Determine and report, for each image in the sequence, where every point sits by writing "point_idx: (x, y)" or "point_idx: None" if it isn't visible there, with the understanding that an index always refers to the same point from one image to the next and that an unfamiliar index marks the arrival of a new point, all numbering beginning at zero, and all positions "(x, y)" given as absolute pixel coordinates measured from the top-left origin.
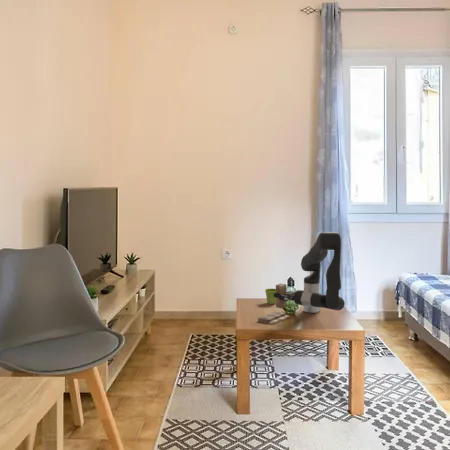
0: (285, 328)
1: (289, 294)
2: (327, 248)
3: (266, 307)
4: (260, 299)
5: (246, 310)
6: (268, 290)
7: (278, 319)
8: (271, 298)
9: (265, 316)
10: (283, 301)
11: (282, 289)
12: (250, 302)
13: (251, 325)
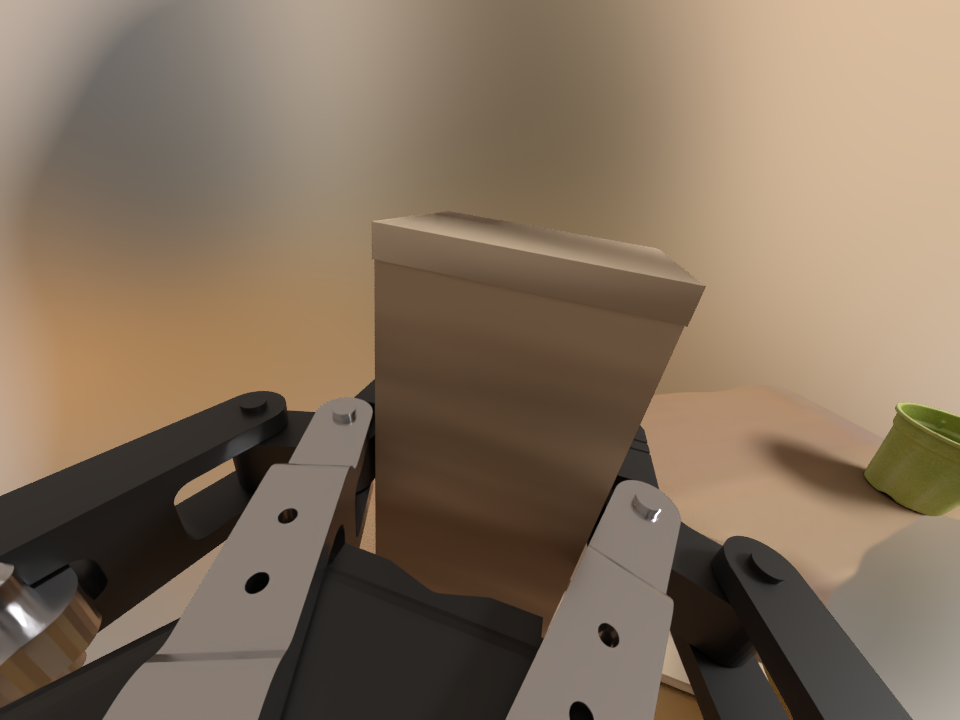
0: None
1: (162, 688)
2: None
3: (797, 480)
4: (872, 438)
5: (654, 415)
6: (942, 422)
7: None
8: (904, 467)
9: None
10: (443, 576)
11: (419, 349)
12: (780, 413)
13: None
